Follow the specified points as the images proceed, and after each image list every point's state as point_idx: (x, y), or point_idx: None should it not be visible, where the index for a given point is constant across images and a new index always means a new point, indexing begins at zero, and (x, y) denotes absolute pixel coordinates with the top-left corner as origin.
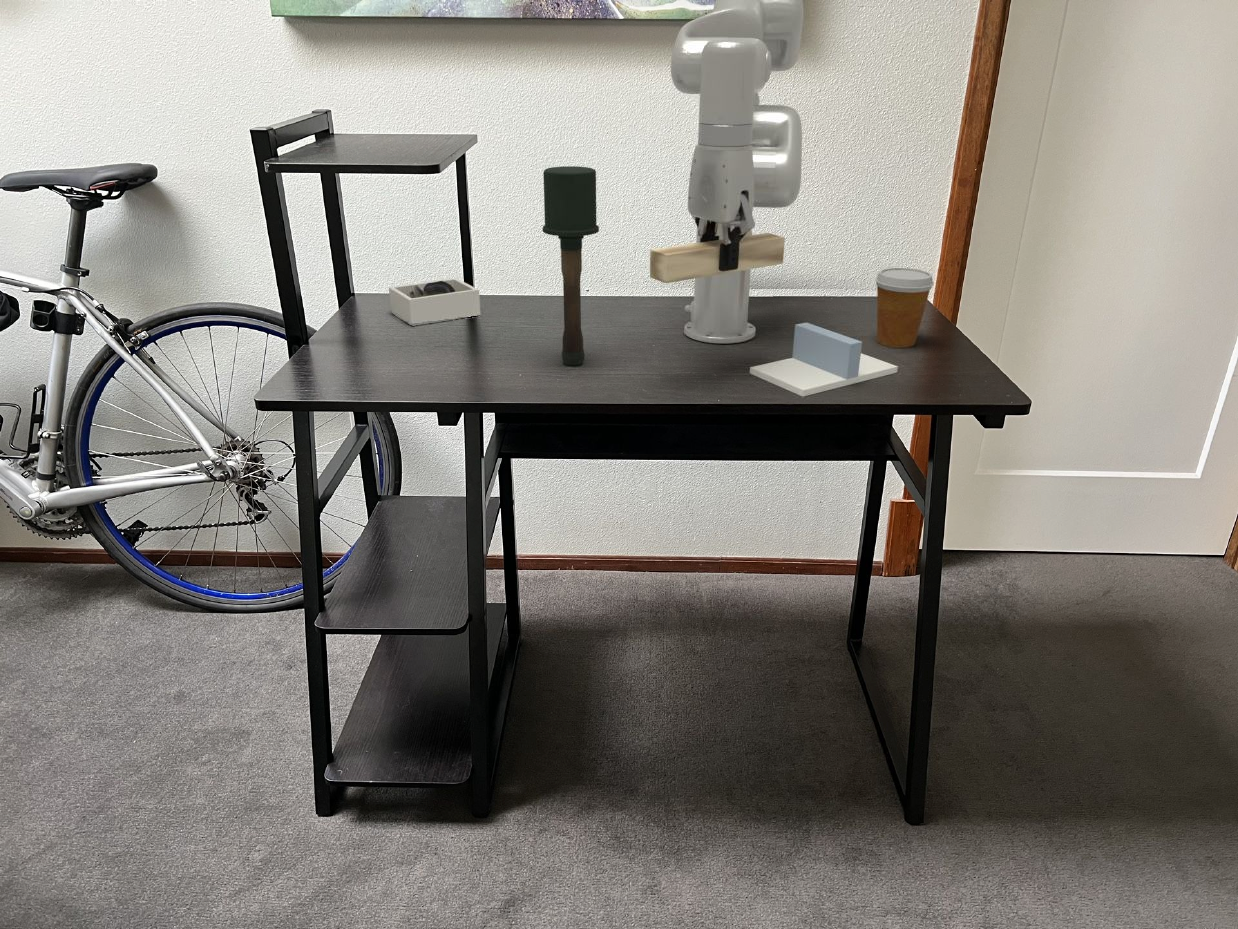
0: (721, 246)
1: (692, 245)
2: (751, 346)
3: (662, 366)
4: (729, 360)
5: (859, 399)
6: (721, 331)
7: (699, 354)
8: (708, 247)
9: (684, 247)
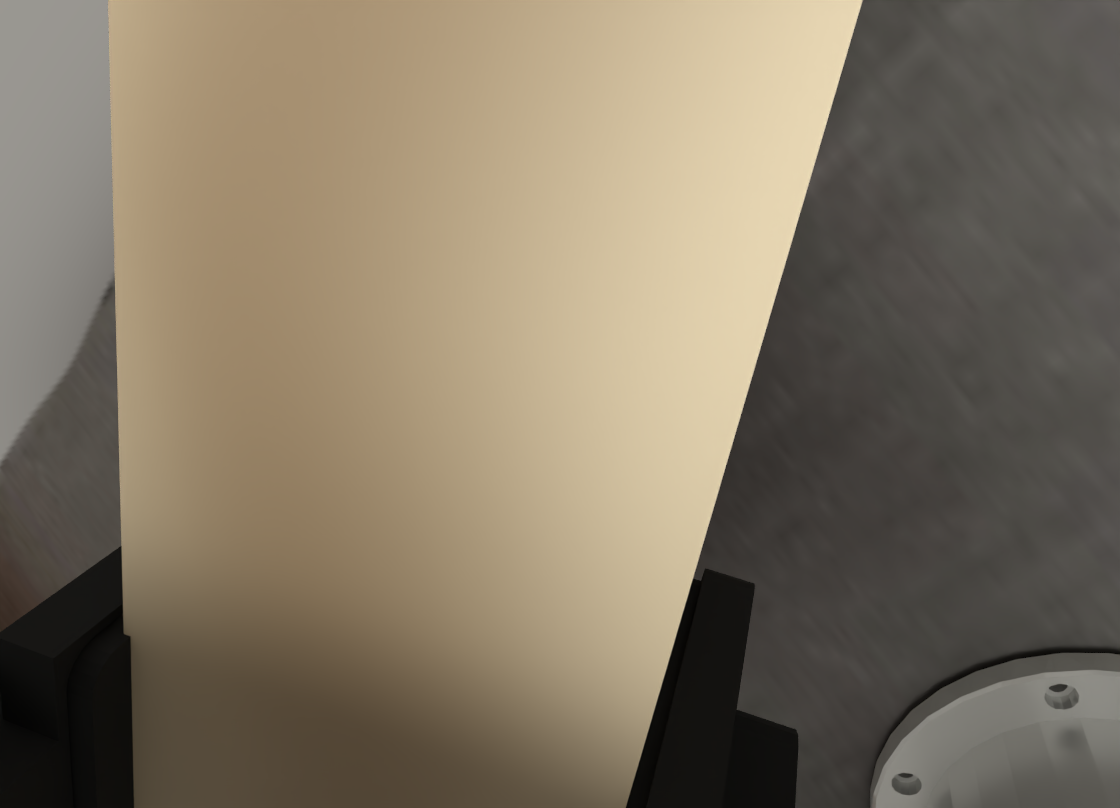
0: (52, 616)
1: (563, 433)
2: (809, 729)
3: (1017, 147)
4: (759, 493)
5: (83, 423)
6: (998, 753)
7: (960, 475)
8: (212, 487)
9: (544, 105)
